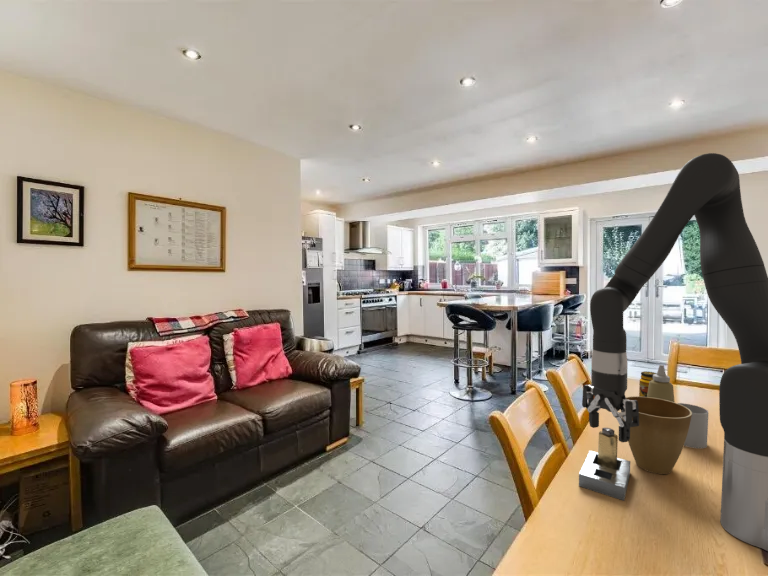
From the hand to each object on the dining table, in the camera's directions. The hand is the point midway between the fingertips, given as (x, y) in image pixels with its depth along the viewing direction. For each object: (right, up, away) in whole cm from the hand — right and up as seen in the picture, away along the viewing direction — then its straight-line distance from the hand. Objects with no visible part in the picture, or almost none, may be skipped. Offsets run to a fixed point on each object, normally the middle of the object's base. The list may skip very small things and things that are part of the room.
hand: (608, 433), depth 91 cm
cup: (+34, -10, +18) cm, 40 cm away
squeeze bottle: (+39, -9, +35) cm, 54 cm away
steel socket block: (-2, -11, -1) cm, 11 cm away
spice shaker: (0, -10, +1) cm, 10 cm away
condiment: (+44, -8, +48) cm, 66 cm away
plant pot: (+14, -10, +4) cm, 18 cm away
